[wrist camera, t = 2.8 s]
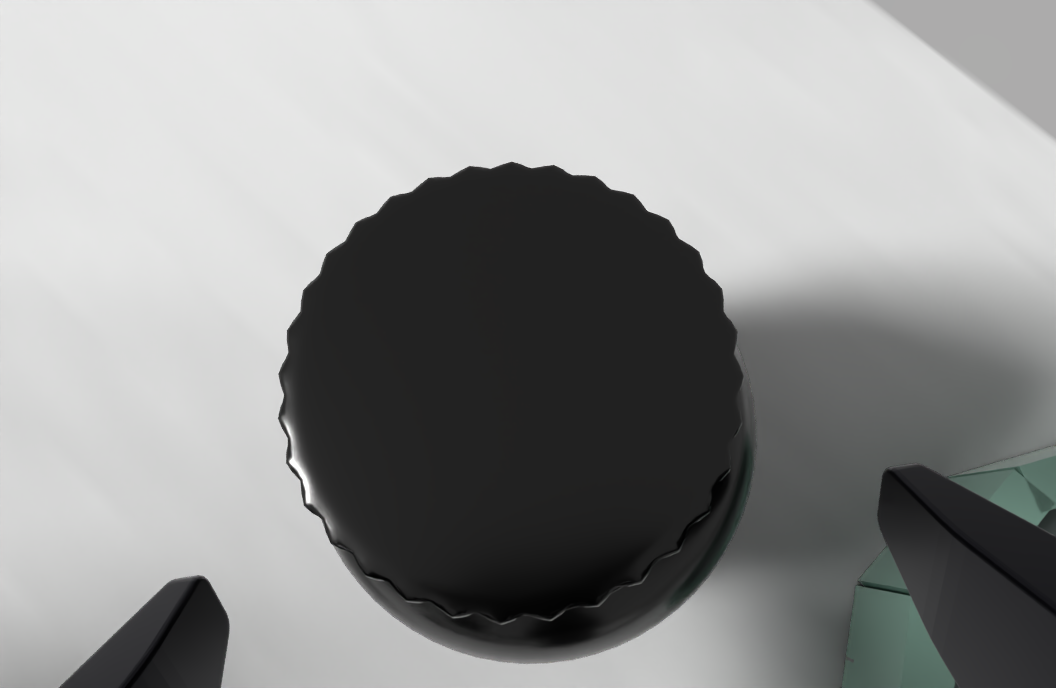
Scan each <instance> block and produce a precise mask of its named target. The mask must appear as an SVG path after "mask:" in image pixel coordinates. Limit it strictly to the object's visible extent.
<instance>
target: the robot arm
mask: <svg viewBox="0 0 1056 688" xmlns="http://www.w3.org/2000/svg"><path fill="white" fill-rule="evenodd" d="M877 516H878V523H879V527H880V530H881V533H882V535H883V537H884V539H885V542H886V544H887V546H888V548H889V550H890V552H891V555H892V557H893V559H894V561H895V563H896V566H897V568H898V570H899V572H900V574H901V576H902V579H903V581H904V583H905V585H906V587H907V590H908V592H909V594H910V596H911V598H912V601H913V603H914V605H915V607H916V609H917V611H918V614H919V616H920V618H921V620H922V622H923V624H924V626H925V628H926V630H927V632H928V635H929V637H930V639H931V640H932V642H933V644H934V646H935V648H936V649H937V651H938V653H939V655H940V657H941V658H942V660H943V662H944V663H945V665H946V667H947V668H948V670H949V672H950V673H951V675H952V677H953V678H954V680H955V682H956V683H957V685H958V687H959V688H1056V536H1055V535H1053V534H1051V533H1049V532H1047V531H1045V530H1044V529H1042V528H1040V527H1038V526H1036V525H1034V524H1032V523H1031V522H1029V521H1027V520H1025V519H1023V518H1021V517H1019V516H1017V515H1016V514H1014V513H1012V512H1010V511H1008V510H1006V509H1004V508H1002V507H1001V506H999V505H997V504H995V503H993V502H991V501H989V500H988V499H986V498H984V497H982V496H980V495H978V494H976V493H974V492H973V491H971V490H969V489H967V488H965V487H963V486H961V485H960V484H958V483H956V482H954V481H952V480H950V479H948V478H946V477H945V476H943V475H941V474H939V473H937V472H935V471H933V470H931V469H930V468H928V467H926V466H924V465H921V464H918V463H911V464H905V465H898V466H892V467H889V468H887V469H886V470H885V471H884V473H883V476H882V482H881V489H880V497H879V504H878V513H877ZM228 638H229V619H228V616H227V613H226V611H225V609H224V608H223V606H222V604H221V602H220V600H219V599H218V597H217V595H216V593H215V591H214V589H213V588H212V586H211V584H210V582H209V581H208V579H207V578H205V577H204V576H199V575H197V576H191V577H184V578H178V579H174V580H172V581H170V582H168V583H167V584H166V585H165V586H164V587H163V588H162V589H161V590H160V591H159V592H158V593H157V594H156V595H154V596H153V597H152V598H151V599H150V600H149V601H148V602H147V603H146V604H145V605H144V606H143V607H142V608H141V609H140V610H139V611H138V612H137V613H136V614H135V615H134V616H133V617H132V618H131V619H130V620H129V621H127V622H126V623H125V624H124V625H123V626H122V627H121V628H120V629H119V630H118V631H117V632H116V633H115V634H114V635H113V636H112V637H111V638H110V639H109V640H108V641H107V642H106V643H105V644H104V645H103V646H102V647H100V648H99V649H98V650H97V651H96V652H95V653H94V654H93V655H92V656H91V657H90V658H89V659H88V660H87V661H86V662H85V663H84V664H83V665H82V666H81V667H80V668H79V669H78V670H77V671H76V672H75V673H73V674H72V675H71V676H70V677H69V678H68V679H67V680H66V681H65V682H64V683H63V684H62V685H61V686H60V687H59V688H221V683H222V677H223V670H224V664H225V658H226V651H227V645H228Z"/></svg>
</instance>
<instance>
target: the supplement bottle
mask: <svg viewBox="0 0 1056 688" xmlns="http://www.w3.org/2000/svg"><path fill="white" fill-rule="evenodd" d="M723 301H724V299H723V291H722V288H721V287H720V286H719V285H718V284H717V283H716V282H715V281H714V280H713V279H711V278H710V277H709V276H708V275H707V274H706V273H705V271H704V268H703V261H702V259H701V256H700V253H699V251H697V250H696V249H695V248H693V247H692V246H690V245H689V244H687V243H685V242H684V241H682V240H680V239H679V238H678V237H677V235H676V233H675V230H674V228H673V226H672V224H671V223H670V221H669V220H668V219H666V218H664V217H661V216H659V215H657V214H654V213H651V212H648V211H647V210H646V209H645V208H644V206H643V205H642V203H641V202H640V201H639V200H638V199H637V198H636V197H635V196H634V195H633V194H629V193H626V192H621V191H615V190H611V189H610V188H608V187H607V186H606V185H605V184H604V183H603V182H602V181H601V180H599V179H598V178H597V177H595V176H586V175H571V174H569V173H567V172H565V171H564V170H563V169H561V168H559V167H557V166H555V165H551V166H543V167H537V168H528V167H525V166H523V165H521V164H518V163H514V162H509V163H506V164H503V165H500V166H497V167H495V168H492V169H488V168H482V167H473V166H469V167H467V168H465V169H463V170H461V171H459V172H458V173H456V174H454V175H453V176H451V177H434V178H428V179H427V180H425V181H424V182H423V183H421V184H420V185H419V186H418V187H417V188H416V189H415V190H413V191H412V192H409V193H406V194H399V195H396V196H392V197H390V198H389V199H388V200H387V201H386V202H385V203H384V204H383V206H382V207H381V208H380V210H379V211H378V212H377V213H376V214H374V215H372V216H370V217H366V218H364V219H362V220H360V221H358V222H356V223H355V225H354V226H353V228H352V230H351V231H350V233H349V235H348V237H347V239H346V241H345V242H343V243H342V244H340V245H338V246H337V247H335V248H334V249H332V250H331V251H330V252H328V253H327V254H326V257H325V259H324V262H323V265H322V268H321V272H320V274H319V275H318V277H317V278H316V279H315V280H313V281H312V282H311V283H310V284H309V285H308V286H307V287H306V288H305V289H304V290H303V295H302V300H301V312H300V313H299V314H298V316H297V317H296V318H295V319H294V321H293V322H292V324H291V325H290V327H289V328H288V330H287V344H288V355H287V357H286V359H285V361H284V362H283V364H282V367H281V369H280V372H279V379H280V384H281V387H282V390H283V393H284V399H283V403H282V405H281V407H280V412H279V417H278V420H279V422H280V424H281V427H282V429H283V431H284V432H285V434H286V436H287V438H288V447H287V452H286V464H287V465H288V466H289V468H290V469H291V471H292V472H293V473H294V474H295V475H296V476H297V478H298V479H299V480H300V481H301V492H302V498H303V503H304V506H305V507H306V508H307V509H308V510H309V511H311V512H312V513H313V514H315V515H317V516H319V517H320V518H321V520H322V522H323V525H324V528H325V530H326V533H327V536H328V538H329V540H330V543H331V544H332V545H333V546H334V548H335V550H336V551H337V553H338V555H339V556H340V558H341V559H342V561H343V563H344V564H345V566H346V567H347V569H348V570H349V571H350V573H351V574H352V575H353V576H354V578H355V579H356V580H357V582H358V583H359V584H360V585H361V587H362V588H363V589H364V590H365V591H366V592H367V593H368V594H369V595H370V596H371V597H372V598H373V599H374V600H375V601H376V602H377V603H378V604H379V605H380V606H381V607H383V608H384V609H385V610H386V611H387V612H388V613H390V614H391V615H392V616H393V617H394V618H396V619H397V620H399V621H400V622H402V623H403V624H404V625H406V626H407V627H409V628H410V629H412V630H413V631H415V632H417V633H419V634H420V635H422V636H424V637H426V638H428V639H429V640H431V641H433V642H435V643H438V644H440V645H443V646H445V647H447V648H450V649H452V650H454V651H458V652H461V653H464V654H468V655H471V656H474V657H478V658H483V659H488V660H493V661H499V662H508V663H520V664H537V663H553V662H561V661H569V660H574V659H578V658H582V657H587V656H591V655H595V654H598V653H600V652H603V651H606V650H609V649H612V648H615V647H617V646H619V645H621V644H624V643H626V642H628V641H630V640H632V639H634V638H636V637H638V636H640V635H641V634H643V633H645V632H646V631H648V630H650V629H651V628H653V627H654V626H656V625H658V624H659V623H661V622H662V621H663V620H664V619H666V618H667V617H668V616H670V615H671V614H672V613H673V612H675V611H676V610H677V609H678V608H680V607H681V606H682V605H683V604H684V603H685V602H686V601H687V600H688V599H689V598H690V597H691V596H692V595H693V594H694V593H695V592H696V591H697V590H698V589H699V587H700V586H701V585H702V584H703V583H704V582H705V580H706V579H707V578H708V577H709V576H710V574H711V573H712V571H713V570H714V568H715V567H716V566H717V564H718V563H719V561H720V560H721V558H722V557H723V555H724V553H725V552H726V550H727V548H728V546H729V544H730V542H731V541H732V539H733V537H734V535H735V533H736V530H737V528H738V525H739V523H740V521H741V518H742V516H743V513H744V510H745V507H746V503H747V500H748V497H749V494H750V489H751V484H752V479H753V474H754V468H755V457H756V446H757V445H756V416H755V406H754V399H753V394H752V389H751V385H750V380H749V377H748V373H747V370H746V367H745V364H744V361H743V358H742V355H741V353H740V351H739V348H738V346H737V344H736V342H737V330H736V328H735V327H734V325H733V324H732V322H731V321H730V320H729V319H728V318H727V316H726V315H725V313H724V311H723Z"/></svg>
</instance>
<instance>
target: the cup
mask: <svg viewBox="0 0 1056 688" xmlns="http://www.w3.org/2000/svg"><path fill="white" fill-rule="evenodd" d="M948 479H950V480H952V481H954V482H956V483H958V484H960V485H961V486H963V487H965V488H967V489H969V490H971V491H973V492H974V493H976V494H978V495H980V496H982V497H984V498H986V499H988V500H989V501H991V502H993V503H995V504H997V505H999V506H1001V507H1002V508H1004V509H1006V510H1008V511H1010V512H1012V513H1014V514H1016V515H1017V516H1019V517H1021V518H1023V519H1025V520H1027V521H1029V522H1031V523H1032V524H1034V525H1036V526H1038V527H1040V528H1042V529H1044V530H1045V531H1047V532H1049V533H1051V534H1053V535H1055V536H1056V445H1054V446H1051V447H1047V448H1044V449H1040V450H1037V451H1034V452H1030V453H1027V454H1023V455H1020V456H1016V457H1013V458H1010V459H1006V460H1003V461H999V462H996V463H992V464H989V465H986V466H982V467H979V468H975V469H972V470H968V471H965V472H962V473H958V474H955V475H951V476H948ZM858 581H859V582H860V583H861V584H862V585H864V586H865V587H862V586H857V585H856V587H855V594H854V601H853V609H852V616H851V623H850V630H849V637H848V645H847V652H846V659H845V666H844V673H843V681H842V688H959V687H958V685H957V683H956V682H955V680H954V678H953V677H952V675H951V673H950V672H949V670H948V668H947V667H946V665H945V663H944V662H943V660H942V658H941V657H940V655H939V653H938V651H937V649H936V648H935V646H934V644H933V642H932V640H931V639H930V637H929V635H928V632H927V630H926V628H925V626H924V624H923V622H922V620H921V618H920V616H919V614H918V611H917V609H916V607H915V605H914V603H913V601H912V598H911V596H910V594H909V592H908V590H907V587H906V585H905V583H904V581H903V579H902V576H901V574H900V572H899V570H898V568H897V566H896V563H895V561H894V559H893V557H892V555H891V552H890V550H889V548H888V546H886V548H885V549H884V550H883V551H882V552H881V553H880V555H879V556H878V557H877V558H876V559H875V561H874V562H873V563H872V564H871V565H870V566H869V568H868V569H867V570H866V571H865V572H864V574H863V575H862V576H861V577H860V578H859V579H858Z"/></svg>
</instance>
